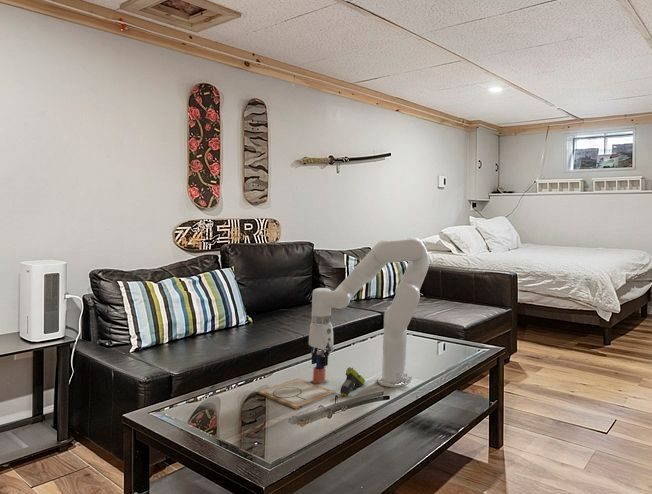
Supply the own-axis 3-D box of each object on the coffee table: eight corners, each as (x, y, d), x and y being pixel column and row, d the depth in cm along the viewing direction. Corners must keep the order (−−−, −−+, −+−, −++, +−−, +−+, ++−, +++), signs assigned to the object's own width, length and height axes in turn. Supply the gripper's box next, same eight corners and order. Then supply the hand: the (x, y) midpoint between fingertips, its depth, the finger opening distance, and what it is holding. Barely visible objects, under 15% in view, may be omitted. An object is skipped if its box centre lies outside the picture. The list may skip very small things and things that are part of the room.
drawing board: (335, 394, 186) (335, 391, 186) (296, 409, 171) (296, 406, 171) (297, 380, 199) (298, 378, 199) (258, 393, 184) (258, 390, 184)
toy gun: (357, 404, 191) (366, 379, 197) (343, 393, 180) (352, 366, 186) (352, 403, 192) (360, 378, 198) (337, 392, 181) (347, 365, 187)
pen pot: (327, 382, 198) (328, 367, 198) (318, 385, 194) (318, 370, 194) (319, 379, 201) (320, 365, 201) (310, 382, 197) (310, 367, 197)
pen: (322, 381, 198) (323, 351, 197) (318, 382, 196) (319, 352, 196) (318, 379, 199) (319, 350, 199) (314, 381, 197) (315, 351, 197)
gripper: (342, 321, 195) (341, 367, 195) (314, 314, 205) (313, 358, 205) (328, 324, 189) (326, 371, 189) (299, 317, 199) (298, 362, 199)
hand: (319, 364), depth 197 cm, fingers open, 4 cm apart
